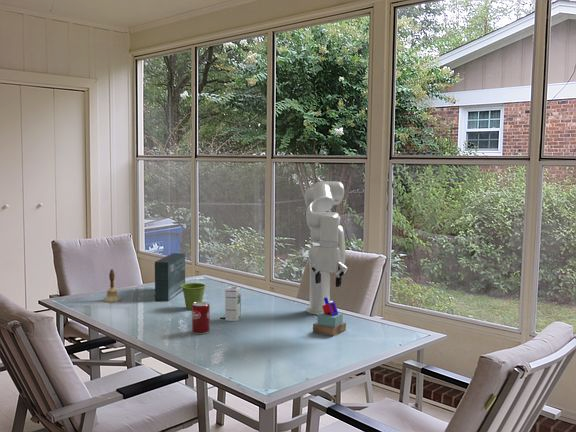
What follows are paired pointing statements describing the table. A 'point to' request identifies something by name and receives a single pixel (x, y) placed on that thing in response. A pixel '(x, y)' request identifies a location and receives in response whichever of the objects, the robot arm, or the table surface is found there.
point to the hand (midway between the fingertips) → (328, 284)
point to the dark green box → (169, 276)
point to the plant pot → (193, 293)
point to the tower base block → (329, 329)
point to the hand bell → (112, 290)
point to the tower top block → (329, 319)
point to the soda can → (200, 317)
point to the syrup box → (232, 303)
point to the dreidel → (330, 307)
